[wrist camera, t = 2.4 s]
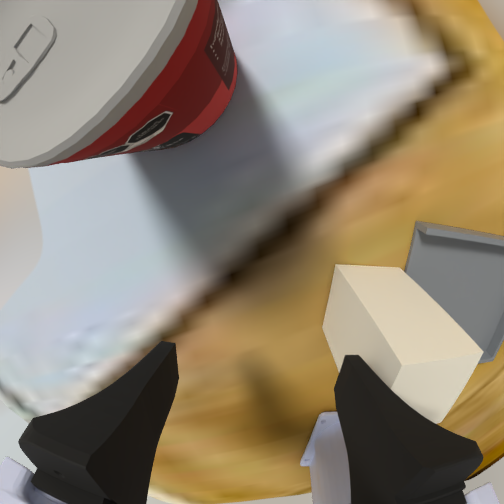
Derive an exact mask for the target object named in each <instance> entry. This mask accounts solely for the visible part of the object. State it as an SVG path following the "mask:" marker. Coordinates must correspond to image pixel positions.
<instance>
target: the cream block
mask: <svg viewBox="0 0 504 504" xmlns="http://www.w3.org/2000/svg"><path fill="white" fill-rule="evenodd" d="M322 329H323V331H324V334H325V336H326V339H327V342H328V344H329V347H330V349H331V352H332V355H333V357H334V360H335V363H336V365H337V368H338V371H339V373H340V369H341V366H342V363H343V360H344V357H345V355H359V356H360V357H361V358H362V359H363V360H364V361H365V362H366V363H367V364H368V366H369V367H370V368H371V369H372V370H373V371H374V372H375V373H376V374H377V375H378V377H379V378H380V379H381V380H382V381H383V382H384V383H385V384H386V385H387V386H388V387H389V388H390V389H391V390H392V391H393V392H394V393H395V394H396V395H398V396H399V397H400V398H401V399H402V400H403V401H404V402H405V403H407V404H408V405H409V406H410V407H412V408H413V409H414V410H416V411H417V412H418V413H420V414H421V415H422V416H424V417H425V418H427V419H429V420H430V421H432V422H434V423H435V424H437V423H440V422H442V420H443V419H444V417H445V416H446V414H447V413H448V412H449V410H450V409H451V407H452V406H453V404H454V403H455V401H456V399H457V398H458V396H459V395H460V393H461V391H462V390H463V388H464V387H465V385H466V383H467V381H468V380H469V378H470V376H471V375H472V373H473V371H474V369H475V367H476V366H477V364H478V362H479V360H480V358H481V356H482V354H483V351H482V349H481V348H480V347H479V346H478V345H477V344H476V343H475V342H474V341H473V340H472V338H471V337H470V336H469V335H468V334H467V333H466V332H465V331H464V330H463V329H462V328H461V327H460V326H459V325H458V324H457V323H456V322H455V321H454V320H453V319H452V318H451V317H450V315H449V314H448V313H447V312H446V311H445V310H444V309H443V308H442V307H441V306H440V305H439V304H438V303H437V302H435V301H434V300H433V299H432V298H431V297H430V296H429V295H428V294H427V293H426V292H425V291H424V290H423V289H422V288H421V287H420V286H419V285H418V284H417V283H416V282H415V281H414V280H413V279H411V278H410V277H409V276H408V275H407V274H406V273H405V272H404V271H403V270H402V269H401V268H398V267H378V266H359V265H341V264H335V269H334V275H333V280H332V285H331V290H330V295H329V299H328V304H327V309H326V313H325V318H324V322H323V326H322Z"/></svg>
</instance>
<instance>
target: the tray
mask: <svg viewBox="0 0 504 504" xmlns="http://www.w3.org/2000/svg"><path fill="white" fill-rule="evenodd" d="M404 272H405V273H406V274H407V275H408V276H409V277H410V278H411V279H413V280H414V281H415V282H416V283H417V284H418V285H419V286H420V287H421V288H422V289H423V290H424V291H425V292H426V293H427V294H428V295H429V296H430V297H431V298H432V299H433V300H434V301H435V302H437V303H438V304H439V305H440V306H441V307H442V308H443V309H444V310H445V311H446V312H447V313H448V314H449V315H450V317H451V318H452V319H453V320H454V321H455V322H456V323H457V324H458V325H459V326H460V327H461V328H462V329H463V330H464V331H465V332H466V333H467V334H468V335H469V336H470V337H471V338H472V340H473V341H474V342H475V343H476V344H477V345H478V346H479V347H480V348H481V349H482V351H483V354H482V356H481V358H480V360H479V362H478V364H479V363H484V362H490V361H493V360H494V358H495V356H496V354H497V352H498V350H499V348H500V346H501V344H502V342H503V340H504V236H500V235H495V234H490V233H484V232H479V231H474V230H468V229H463V228H457V227H451V226H445V225H439V224H433V223H427V222H420V221H416V223H415V228H414V233H413V237H412V242H411V246H410V250H409V255H408V259H407V263H406V267H405V270H404Z"/></svg>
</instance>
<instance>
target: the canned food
mask: <svg viewBox="0 0 504 504" xmlns="http://www.w3.org/2000/svg"><path fill="white" fill-rule="evenodd" d="M236 78H237V61H236V57H235V53H234V50H233V47H232V44H231V41H230V37H229V34H228V31H227V28H226V25H225V22H224V19H223V16H222V13H221V10H220V7H219V4H218V1H217V0H0V166H3V167H7V168H20V167H23V168H31V167H43V166H49V165H54V164H59V163H69V162H75V161H80V160H86V159H92V158H98V157H105V156H112V155H119V154H126V153H134V152H143V151H152V150H162V149H167V148H172V147H176V146H179V145H182V144H184V143H187V142H189V141H191V140H192V139H194V138H196V137H197V136H199V135H201V134H202V133H203V132H205V131H206V130H207V129H208V128H209V127H210V126H212V125H213V124H214V123H215V121H216V120H217V119H218V118H219V117H220V116H221V114H222V113H223V112H224V110H225V108H226V107H227V105H228V103H229V101H230V100H231V97H232V94H233V91H234V89H235V85H236Z"/></svg>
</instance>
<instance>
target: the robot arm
mask: <svg viewBox="0 0 504 504" xmlns="http://www.w3.org/2000/svg"><path fill="white" fill-rule="evenodd" d="M178 380H179V374H178V364H177V354H176V344H175V343H171V342H164V341H161V342H160V343H159V344H158V345H157V346H156V347H154V348H153V349H152V350H151V351H150V352H149V353H148V354H147V355H146V356H145V357H144V358H143V359H142V360H141V361H140V362H138V363H137V364H136V365H135V366H134V367H133V368H132V369H131V370H129V371H128V372H127V373H126V374H124V375H123V376H122V377H121V378H119V379H118V380H117V381H115V382H114V383H113V384H111V385H110V386H108V387H107V388H105V389H104V390H102V391H101V392H99V393H97V394H96V395H94V396H92V397H90V398H88V399H86V400H84V401H82V402H80V403H78V404H76V405H73V406H71V407H68V408H66V409H63V410H60V411H57V412H54V413H51V414H47V415H43V416H39V417H35V418H33V419H32V420H31V422H30V423H29V425H28V426H27V428H26V430H25V431H24V433H23V434H22V436H21V438H20V439H19V445H20V448H21V449H22V451H23V452H24V453H25V455H26V456H27V457H28V458H29V459H30V460H31V462H32V463H33V464H34V465H35V466H36V467H37V470H36V472H35V474H34V473H32V471H30V470H29V469H28V468H26V467H25V466H23V465H21V464H20V463H18V462H16V461H14V460H13V459H11V458H10V457H8V456H7V457H5V459H4V461H3V462H2V464H1V466H0V504H146V501H147V494H148V488H149V482H150V477H151V471H152V466H153V462H154V457H155V453H156V448H157V445H158V441H159V438H160V435H161V433H162V430H163V427H164V425H165V422H166V419H167V417H168V414H169V411H170V409H171V406H172V403H173V400H174V397H175V393H176V389H177V385H178ZM334 392H335V401H336V409H337V412H323V413H321V414H320V415H319V417H318V419H317V422H316V424H315V427H314V429H313V432H312V435H311V437H310V439H309V442H308V444H307V447H306V449H305V452H304V454H303V456H302V459H301V461H300V465H301V466H310V476H311V487H312V498H313V504H500V503H499V501H498V498H497V496H496V494H495V491H494V489H493V486H492V484H491V482H488V483H487V484H484V485H483V486H480V487H478V488H476V489H474V490H472V491H470V492H469V493H467V494H465V495H464V493H463V491H462V490H463V489H464V488H465V487H466V486H465V483H464V480H465V479H466V478H467V477H468V476H469V475H470V474H471V473H473V472H474V471H475V470H476V469H477V468H478V466H479V465H480V464H481V462H482V460H483V455H482V453H481V451H480V449H479V447H478V445H477V443H476V441H473V440H470V439H468V438H465V437H462V436H460V435H457V434H455V433H453V432H450V431H448V430H446V429H444V428H442V427H440V426H439V425H437V424H435V423H434V422H432V421H430V420H429V419H427V418H425V417H424V416H422V415H421V414H420V413H418V412H417V411H416V410H414V409H413V408H412V407H410V406H409V405H408V404H407V403H405V402H404V401H403V400H402V399H401V398H400V397H399V396H398V395H396V394H395V393H394V392H393V391H392V390H391V389H390V388H389V387H388V386H387V385H386V384H385V383H384V382H383V381H382V380H381V379H380V378H379V377H378V375H377V374H376V373H375V372H374V371H373V370H372V369H371V368H370V367H369V366H368V364H367V363H366V362H365V361H364V360H363V359H362V358H361V357H360V356H359V355H345V357H344V360H343V363H342V366H341V369H340V373H339V375H338V378H337V381H336V384H335V387H334Z"/></svg>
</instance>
